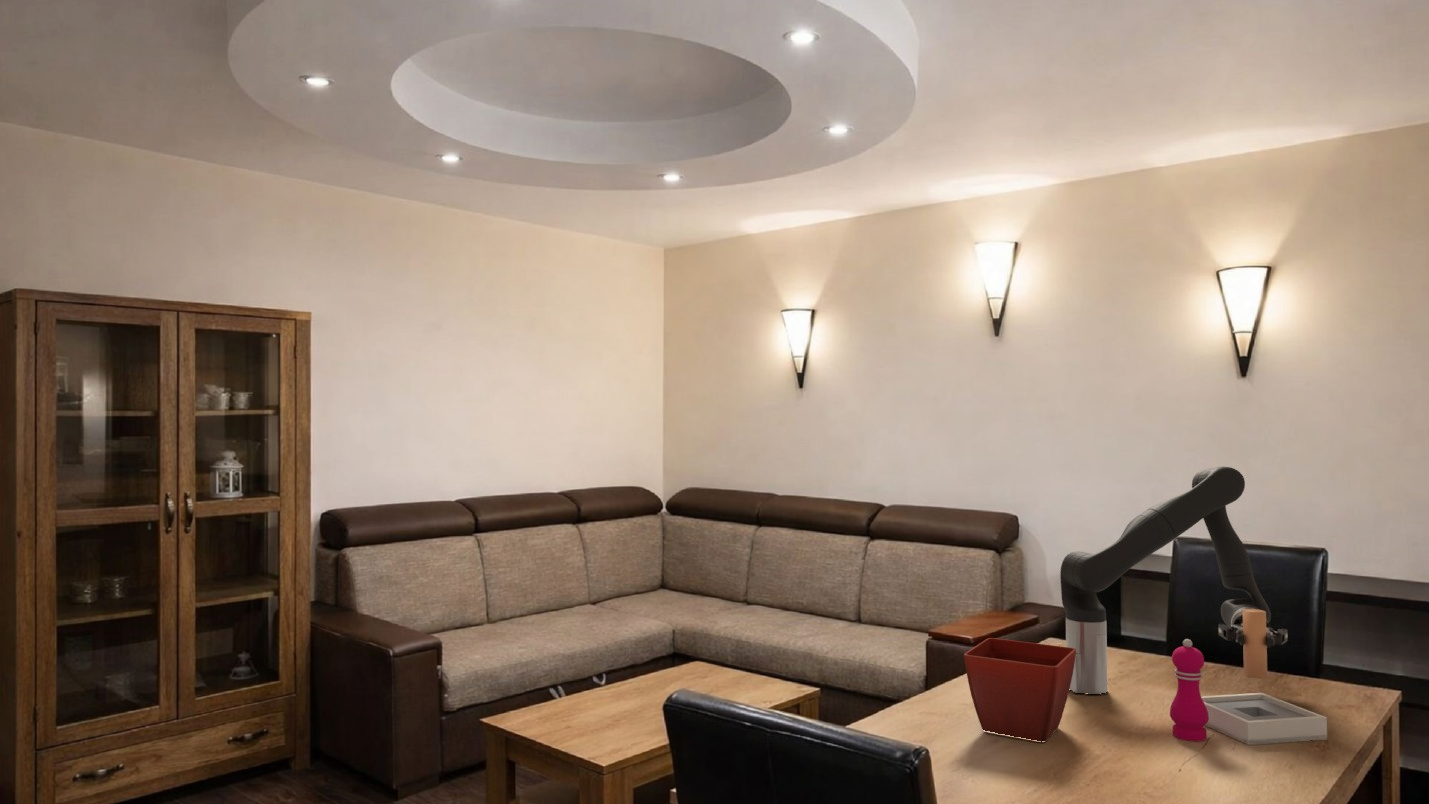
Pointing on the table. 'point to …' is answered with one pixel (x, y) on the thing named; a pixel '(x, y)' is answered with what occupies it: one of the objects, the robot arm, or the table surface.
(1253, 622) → the peg
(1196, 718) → the pepper mill
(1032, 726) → the plant pot
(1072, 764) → the table surface
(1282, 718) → the tray
